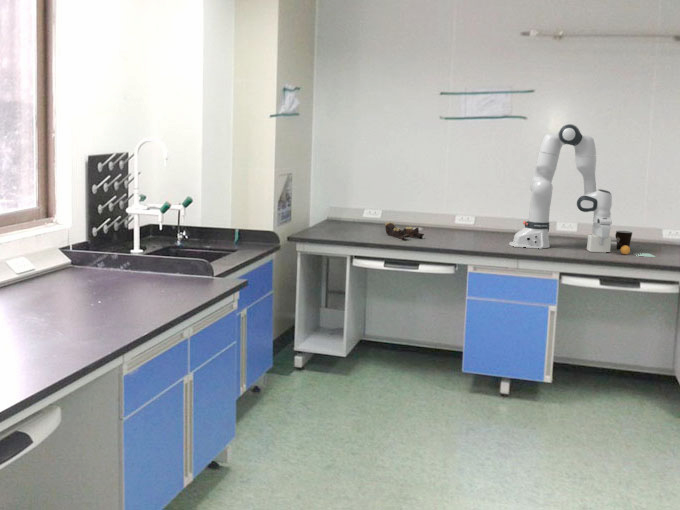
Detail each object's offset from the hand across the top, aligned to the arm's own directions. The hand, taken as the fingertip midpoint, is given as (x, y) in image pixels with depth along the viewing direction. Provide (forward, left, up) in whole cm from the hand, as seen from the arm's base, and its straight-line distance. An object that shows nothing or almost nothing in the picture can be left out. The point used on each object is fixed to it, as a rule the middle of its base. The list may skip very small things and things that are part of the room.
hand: (599, 244), depth 438 cm
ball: (+12, -7, -2) cm, 14 cm away
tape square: (+22, -7, -4) cm, 24 cm away
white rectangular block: (0, 0, -4) cm, 4 cm away
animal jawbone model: (-106, +28, -5) cm, 110 cm away
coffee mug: (+17, +13, -4) cm, 22 cm away
